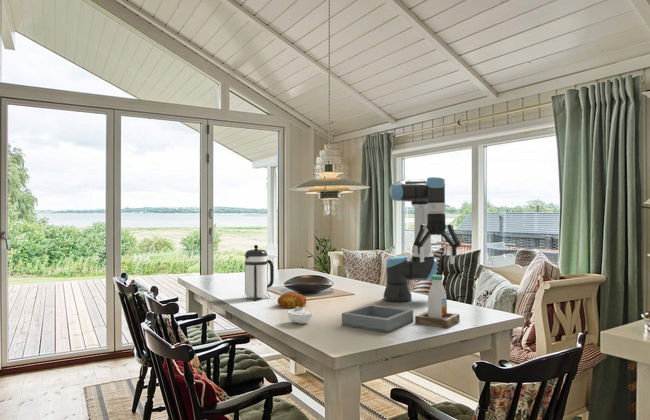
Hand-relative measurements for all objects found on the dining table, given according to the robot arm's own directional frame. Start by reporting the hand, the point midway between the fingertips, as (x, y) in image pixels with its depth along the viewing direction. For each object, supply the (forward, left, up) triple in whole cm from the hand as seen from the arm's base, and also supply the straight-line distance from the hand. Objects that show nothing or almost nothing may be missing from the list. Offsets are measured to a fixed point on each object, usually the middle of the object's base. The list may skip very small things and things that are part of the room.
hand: (436, 262), depth 192 cm
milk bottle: (0, 0, -26) cm, 26 cm away
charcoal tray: (+16, -20, -25) cm, 36 cm away
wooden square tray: (0, 0, -25) cm, 25 cm away
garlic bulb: (+34, -48, -26) cm, 64 cm away
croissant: (+8, -75, -26) cm, 80 cm away
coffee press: (+3, -105, -26) cm, 108 cm away
